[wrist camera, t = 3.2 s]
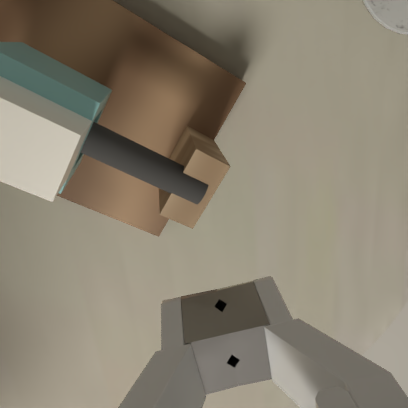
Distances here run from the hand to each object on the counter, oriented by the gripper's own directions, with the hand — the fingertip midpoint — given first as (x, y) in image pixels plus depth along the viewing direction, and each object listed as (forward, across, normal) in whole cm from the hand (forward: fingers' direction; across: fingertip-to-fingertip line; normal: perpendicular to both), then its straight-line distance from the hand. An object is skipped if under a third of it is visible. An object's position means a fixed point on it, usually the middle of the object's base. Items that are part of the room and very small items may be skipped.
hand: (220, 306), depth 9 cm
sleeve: (+12, +6, -5) cm, 14 cm away
